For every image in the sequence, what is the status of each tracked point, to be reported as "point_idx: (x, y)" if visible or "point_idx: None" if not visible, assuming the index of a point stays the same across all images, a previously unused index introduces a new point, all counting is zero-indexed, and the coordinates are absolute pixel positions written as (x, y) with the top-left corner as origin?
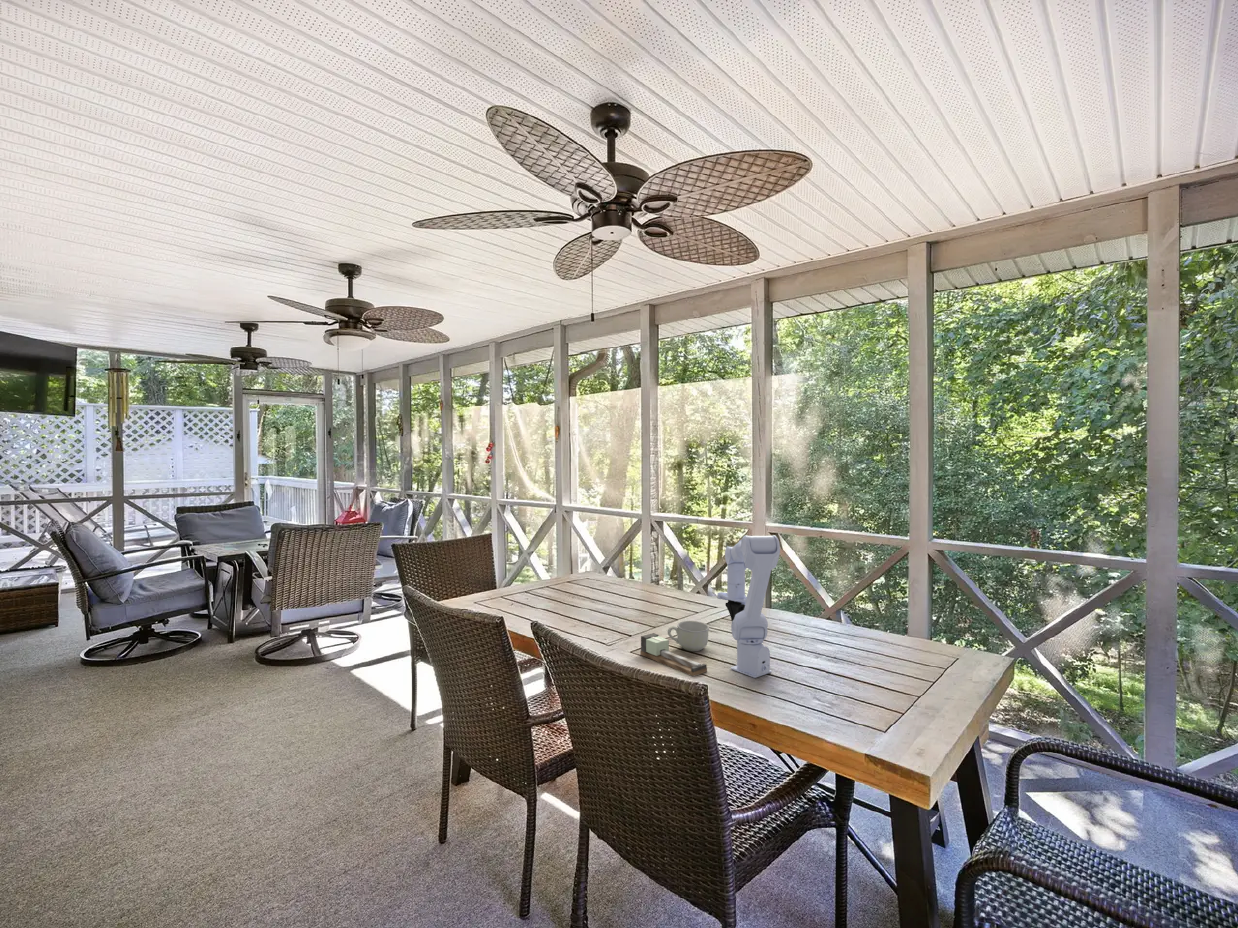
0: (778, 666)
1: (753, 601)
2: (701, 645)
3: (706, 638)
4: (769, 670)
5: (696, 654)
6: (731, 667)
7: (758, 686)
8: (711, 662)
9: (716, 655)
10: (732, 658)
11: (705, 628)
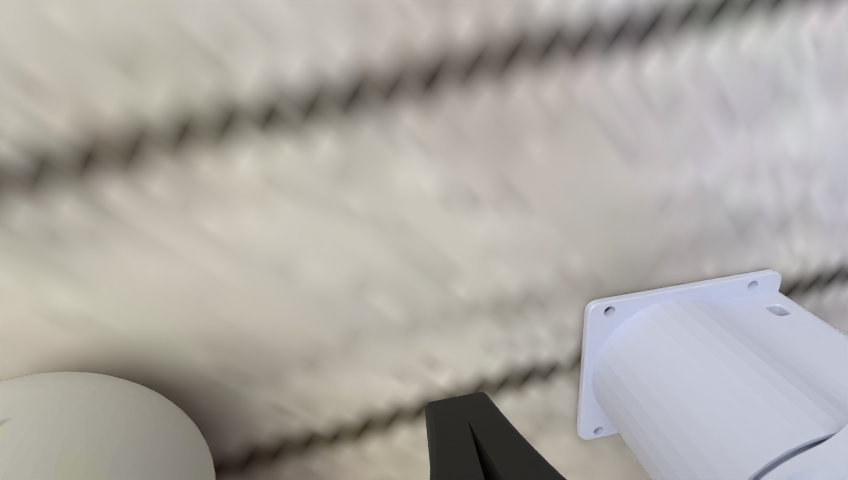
0: (759, 146)
1: None
2: (214, 476)
3: (193, 474)
4: (784, 298)
5: (243, 474)
6: (584, 436)
7: None
8: (424, 463)
9: (333, 376)
10: (447, 318)
11: (13, 474)
